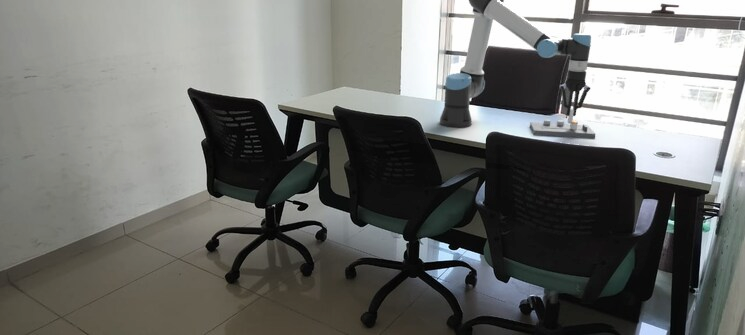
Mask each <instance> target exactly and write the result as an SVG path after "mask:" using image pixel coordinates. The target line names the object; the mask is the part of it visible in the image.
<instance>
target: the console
mask: <svg viewBox="0 0 745 335" xmlns="http://www.w3.org/2000/svg"><path fill="white" fill-rule="evenodd" d="M570 126H571V124H569V123H565V121H564V120H557V121H556V123H552V122H551V120H550V119H543V122H532V121H531V122H529V127H530V130H531V131H532V134H533V135H534V136H550V137H551V136H552V137H568V138H569V137H570V138H581V139H582V138H583V139H584V138H586V139H587V138H588V139H595V138H596V132H594V131H593V130H592V128H591V127H590V126H589V125H588V124H577V130H572V129H571V128H570Z"/></svg>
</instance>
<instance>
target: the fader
mask: <svg viewBox="0 0 745 335" xmlns="http://www.w3.org/2000/svg"><path fill="white" fill-rule="evenodd" d="M578 123H579V122H578V120H577V119H574V120H572V124H571V126H570V128H571V129H572V130H577V125H579V124H578Z"/></svg>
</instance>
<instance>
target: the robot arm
mask: <svg viewBox="0 0 745 335" xmlns="http://www.w3.org/2000/svg"><path fill="white" fill-rule="evenodd" d="M504 1H505V0H468V3H469V5H470V6H471V7H472V13H473V14H474V18H473V24H472V28H471V33H470V38H469V42H468V48H467V54H466V57H465V63H464V65H463V67H461V68H460V71H459V73H451V74H448V75H447V77H446V78H445V82H444V83H445V86H444V89H445V90H444V104H443V105H444V107H443V110H442V113H441V115H440V118H439V124H440V125H441V126H444V127H449V128H466V127H467V128H468V127H470V126H472V121H473V120H472V116H471V112H470V102H471V101H470V99H472V98H476V97H478V96H479V95H480V94H481V93H483V91H484V89H485V86H486V80H485V79H484V77H485V76H484V75H485V71H484V70H483V67H484V62H485V57H486V53H487V48H488V43H489V38H490V34H491V30H492V25H493V22H494V21H495V22H497V23H498V24H499V25H501V26H502V27H503V28H504V29H507V30H508V31H509V32H510V33H512V34H513V35H515V36H516V37H517V38H519V39H520V40H522V42H525V43H526V44H527V45H528V46H530V47H531V48H532V49H534V50H535V51H536V52H537V54H538V55H539V56H540V57H541V58H546V59H547V58H552V57H554V56H569V62H568V71H567V77H566V80H565V83H563V84H560V85H559V88H560V90H561V96H562V97H561V98H562V106H563V107H564V108H566V113H565V114H566V116H567V117H568V118H567V124H572V120H573V119H574V117H575V116H576V115H577V110H578V109H582V106H583V104H584V101H585V99H586V97H587V95H588V92H590V90H591V87H590V86H588V85H587V84H586V83H587V82H586V76H587V71H586V70H587V69H588V62H589V56H590V51H591V50H590V49H591V43H592V36H591V34H589V33H574V34H573V36H572V37H563V36H561V37H560V36H549V35H548V34H546V32H544V31H543V30H541V29H540V28H538V27H537V26H536V25H535V24H533V23H531V22H530V21H529V20H528V19H526V18H525V17H523V16H521V15H520V14H519V13H517V12H516V11H514V9H512V8H510V6H508V5H506V4H505V3H504ZM566 88H567V90H568V99H567V97H566V96H567V95H566ZM582 89H583V92H582V94H581V96H580V91H582ZM573 94H574V95H573ZM573 96H574V97H573ZM579 97H580V98H579ZM573 98H574V99H573ZM572 101H573V102H572ZM572 103H573V106H572Z"/></svg>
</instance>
